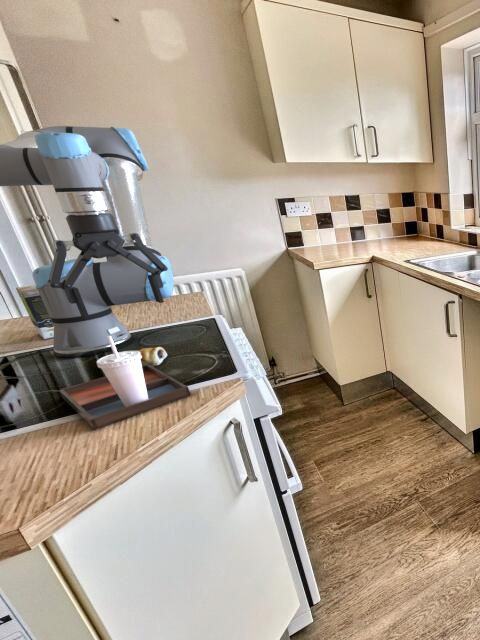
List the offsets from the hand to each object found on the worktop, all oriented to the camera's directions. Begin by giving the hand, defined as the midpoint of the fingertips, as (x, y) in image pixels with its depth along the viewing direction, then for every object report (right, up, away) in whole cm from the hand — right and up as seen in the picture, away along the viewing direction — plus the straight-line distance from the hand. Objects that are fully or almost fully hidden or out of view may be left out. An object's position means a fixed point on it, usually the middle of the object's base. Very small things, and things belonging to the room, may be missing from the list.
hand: (124, 309), depth 97 cm
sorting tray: (+10, -19, -11) cm, 24 cm away
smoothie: (+16, -20, -14) cm, 29 cm away
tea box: (-45, -4, +32) cm, 55 cm away
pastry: (0, -13, +5) cm, 14 cm away
